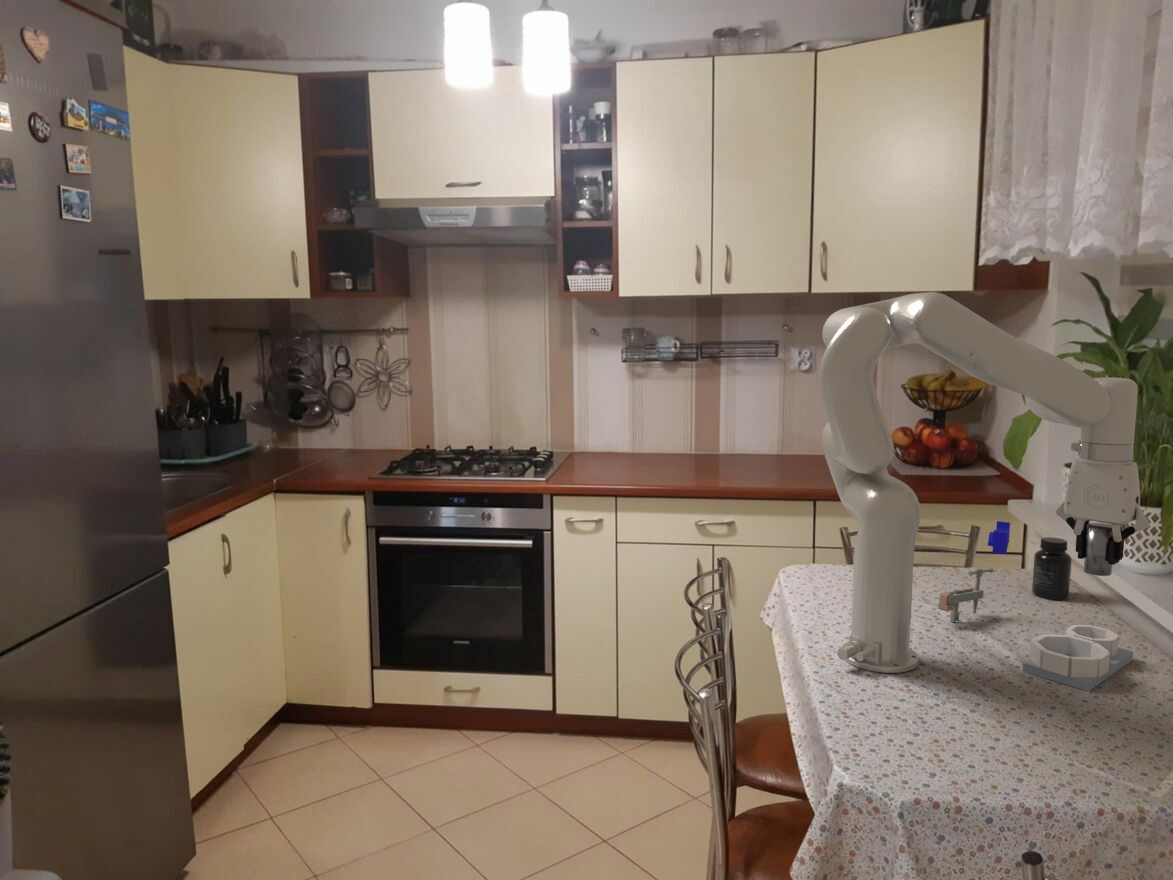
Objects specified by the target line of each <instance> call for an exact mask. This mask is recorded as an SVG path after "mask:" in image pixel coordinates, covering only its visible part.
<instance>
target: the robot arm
mask: <svg viewBox="0 0 1173 880" xmlns="http://www.w3.org/2000/svg"><path fill="white" fill-rule="evenodd" d="M821 334H822V335H821V336H822V340H823V344H824V345H825V347H826V348H825V351H824V353H823V356H822V358H821V362H820V365H819V370H818V389H819V395H820V398H821V402H822V405H823V408H824V411H825V416H826V418H827V423H826V424H825V426H824V428H823V430H822V434H821V435H822V436H821V447H822V452H823V455H824V458H825V460H826V464H827V466H828V469H829V472H830V475H831V477H832V481H833V482H834V486H835V489H836V492H837V494H838V497H839V499H840V502H841V503H842V506H843V508H844V510H845V511H846V512H847V513H848V514H849V515H850V516H851V517H853V519H855V520H857V521H858V528H857V529H858V530H857V534H856V538H855V541H854V542H855V543H854V548H853V560H852V561H853V563H852V564H853V565H852V569H853V573H852V575H853V576H852V598H851V599H852V603H851V626H850V635H849V639H848V641H847V642H845V643H844V644H842V645H841V647H840V648H839V649H837V652H836V653H837V654H836V655H837V658H839V660H840V661H845V662H846V663H848V664H849V665H852V666H853V667H855V668H859V669H862V670H865V671H870V672H875V673H883V674H896V673H897V674H898V673H899V674H900V673H906V672H910V671H912V670H914V669H917V667H918V665H919V660H920V659H919V657H920V656H919V654H918V653H917V652H916V651H915V650H914V649H912V648H910V644H911V643H910V641H911V623H912V621H911V620H912V599H913V581H914V561H915V560H914V557H915V547H916V541H917V535H918V531H919V527H920V522H921V505H920V502H919V499H918V496H917V494H916V493H915V492H914V490H913V489H912V488H911V487H910V486H909V485H908V484H906V483H905V482H903V481H902V480H900V479H898V478H896V477H894V476H892V475H890V474H889V471H888V469H887V467H888V466H889V464H890V463H891V462H892V459H893V456H894V453H895V452H894V451H895V450H894V449H895V448H894V441H893V437H892V435H891V431H890V430H889V427H888V424H887V421H886V420H885V417H884V413H883V410H882V407H881V405H880V402H879V398H878V394H877V392H876V389H875V388H876V387H875V382H874V374H875V373H874V372H875V368H876V365H877V363H878V361H879V359H880V358H881V356H882V355H883V354H884V353H885V351H886V350H888V349H894V348H898V347H902V346H905V345H906V346H907V345H911V344H916V345H917V344H918V345H921V346H923V347H924V348H925V349H927V350H930V351H931V352H932V353H934V354H936V355H938V356H940V357H941V358H943V359H944V360H946V361H948V362H949V363H951V364H953V365H954V366H956V367H957V368H959V369H961V370H962V371H964V373H967V374H968V375H970V376H972V377H973V378H975V379H977V380H980V381H981V382H985V383H987V384H988V385H992V386H996V387H999V388H1003V389H1005V390H1009V391H1012V392H1015V393H1017V394H1019V395H1022V396H1024V397H1026V398H1027V399H1026V402H1027V406H1028V408H1029V411H1031V412H1032V414H1034V415H1035V416H1037V418H1040V419H1042V420H1045V421H1048V422H1052V423H1055V424H1063V425H1066V426H1072V427H1075V428H1076V427H1077V428H1081V429H1080V440H1078V442H1072V443H1071V445H1070V449H1071V451H1074V452H1077V453H1078V454H1077V456H1078V457H1076V458H1073V459H1072V464H1071V466H1070V470H1069V475H1068V477H1067V482H1066V483H1067V484H1066V489H1065V497H1064V501H1063V502H1062V503H1061V504H1060V506H1059V507H1058V508H1057V509H1056V511H1055V514H1056V516H1058V517H1059V518H1060V519H1062V520H1063V521H1065V522H1066V524H1067V525H1068V526H1069V527H1070V528H1071V530H1072V531H1073V534H1074V535H1075V536H1076V538H1075V539H1076V540H1075V552H1076V553H1077V559H1079V560H1082V559H1083V560H1084V559H1085V545H1086V530H1087V524H1090V523H1091V521H1092V522H1095V523H1102V524H1108V525H1112V532H1113V539H1112V541H1110V542H1109V554H1108V563H1109V564H1110V565H1112V566H1114V565H1115V564H1118V563H1120V561H1121V560H1122V559H1123V558H1124V551H1125V550H1124V548H1125V544H1124V543H1125V540H1127V539H1128V538H1130V537H1131V536H1132V535H1134V534H1135V533H1138V532H1140V531H1143V530H1145V529H1148V528H1150V526H1151V523H1150V521H1149V519H1148V518H1147V516H1146V514H1145V513H1144V512H1143V510H1142V509H1141V486H1140V476H1139V475H1140V474H1139V468H1138V463H1137V462H1134V461H1133V459H1134V457H1133V456H1134V447H1135V446H1134V445H1135V432H1136V419H1137V418H1136V417H1137V406H1138V405H1137V404H1138V387H1139V386H1138V384H1137V383H1136V382H1135V381H1134V380H1133V379H1130V378H1126V377H1092V376H1090V375H1089V374H1087V373H1086V372H1083V371H1082V370H1080V369H1079V368H1077V367H1076V366H1074V365H1072V364H1070V363H1069V362H1067V361H1065V360H1063V359H1062V358H1060V357H1058V356H1056V355H1054V354H1051V353H1049V352H1048V351H1046V350H1043V349H1041V348H1038V347H1037V346H1034V345H1032V344H1031V343H1029V342H1027V341H1025V340H1023V339H1021V338H1018V337H1016V336H1014V335H1012V334H1011V333H1009V332H1006V331H1005V330H1003V329H1001V328H1000V327H998V325H997V326H996V325H995V324H993V323H992V322H990V321H988V319H985V318H984V317H982V316H980V315H979V314H977V313H976V312H974V311H973V310H970V309H969V307H966V306H964V305H963V304H961V303H960V302H958V301H956V300H955V299H953V298H951V297H949V296H948V295H946V294H944V293H940V292H935V291H934V292H933V291H928V292H917V293H910V294H906V295H901V296H898V297H893V298H890V299H886V300H885V299H883V300H880V301H876V302H870V303H865V304H861V305H856V306H855V305H854V306H849V307H846V308H841V309H839V310H836V311H835V312H834V313H832V314H831V315H829V317H828V318H827V319H826V321H825V322H824V324H823V328H822V333H821ZM1133 521H1135V523H1134V524H1132V525H1130V526H1127V524H1129V523H1130V522H1133Z"/></svg>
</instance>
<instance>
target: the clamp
mask: <svg viewBox="0 0 1173 880" xmlns="http://www.w3.org/2000/svg"><path fill="white" fill-rule="evenodd" d="M974 569H975V570H968V572H967V574H968V576H973V575H974V576H975V584H974V587H970V588H969V587H968V588H964V589H963V588H962V589H954V590H952V591H944V592H941V593H940V594H939V602H938V605H937V609H938V610H941V611H943V612H948V613H949V611H951V612H950V617H949V622H950V623H953V622H956V621H959V620H960V612H959V606H960V603H965V602H970V601H972V602H973V603H972V608H973V609H972V613H974V614H975V613H977V607H978V604H979V603H978V602H979V600H980V599H983V598H984V590H983V589H980V585H981V577H982V576H983V574H984V573H993V572H994V571H995V570H994V568H993V567H990V568H988V569H983V568H982V567H975V568H974Z"/></svg>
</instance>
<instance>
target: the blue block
mask: <svg viewBox="0 0 1173 880" xmlns="http://www.w3.org/2000/svg"><path fill="white" fill-rule="evenodd" d="M1010 530H1011V522H1010V521H999V520H998V521H996V528H995V529H994V530H993V531H990V532H989V535H988V539H987V540H988V541H987V546H988V547H992V553H994V554H1002V555H1007V552H1008V548H1009V543H1010Z"/></svg>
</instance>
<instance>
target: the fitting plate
mask: <svg viewBox="0 0 1173 880" xmlns="http://www.w3.org/2000/svg"><path fill="white" fill-rule="evenodd" d="M1065 630H1066V631H1065V634H1049V633H1048V634H1039V635H1037V636H1036V637H1033V638H1032V639H1030V645H1029V658H1028V659H1027V660H1025V661H1023V662H1022V672H1024V673H1027V674H1030V675H1033V676H1036V677H1041V678H1043V679H1047V680H1050V681H1053V682H1056V683H1059V684H1062V685H1067V686H1068V687H1069V686H1070V687H1073V688H1076V689H1078V690H1079V689H1080V690H1083V691H1086V692H1090V691H1091V690H1093V689H1094V688H1096V687H1097V686H1098V685H1100V684H1101V683H1102V682H1104V681H1105V680H1107V679H1109V678H1110V677H1111V676H1112V675H1113V674H1115V673H1116V672H1118V671H1120V670H1121V669H1122V668H1123V667H1125V666H1126V665H1127V664H1129V663H1131V662H1132V661H1133V660H1134V651H1133V650H1131V649H1130V650H1129V649H1126V648H1122V647H1119V639H1120V638H1119V635H1118V634H1116V633H1115V632H1113V630H1109V628H1108V629H1107V628H1104V627H1100V626H1095V625H1090V624H1089V625H1088V624H1074V625H1073V624H1072V625H1070V626H1068V627H1066V629H1065Z"/></svg>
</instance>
